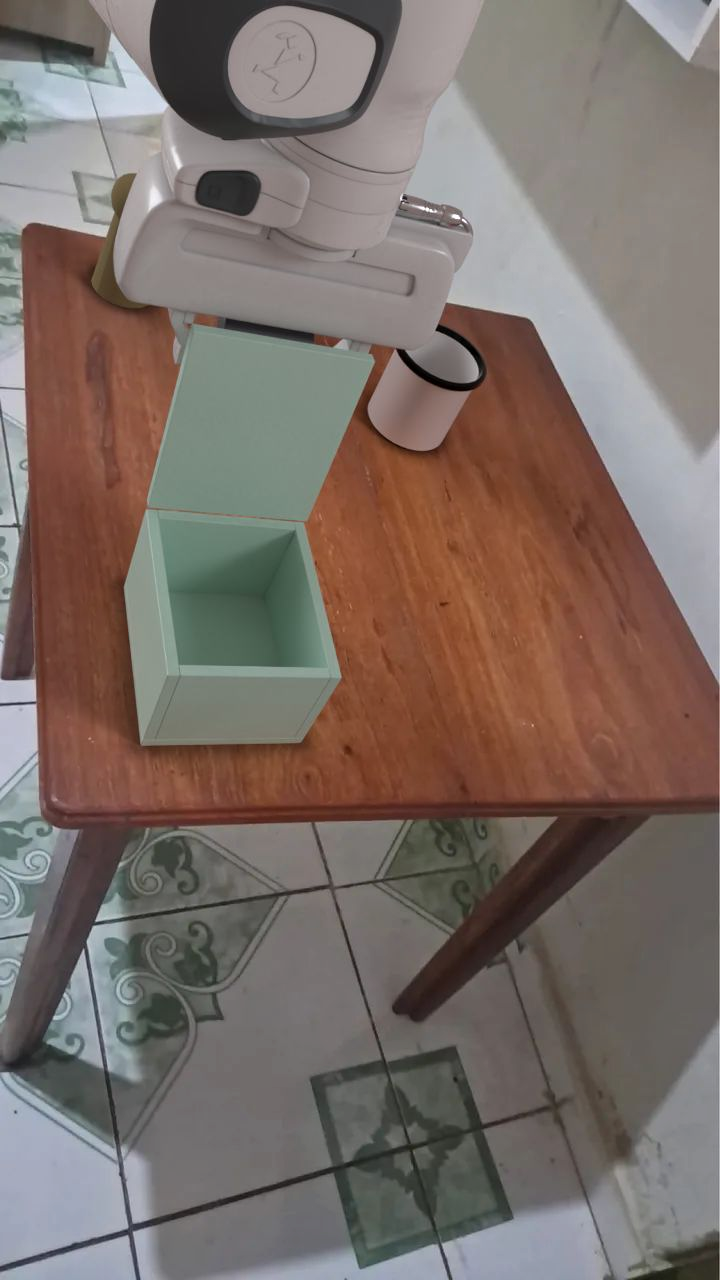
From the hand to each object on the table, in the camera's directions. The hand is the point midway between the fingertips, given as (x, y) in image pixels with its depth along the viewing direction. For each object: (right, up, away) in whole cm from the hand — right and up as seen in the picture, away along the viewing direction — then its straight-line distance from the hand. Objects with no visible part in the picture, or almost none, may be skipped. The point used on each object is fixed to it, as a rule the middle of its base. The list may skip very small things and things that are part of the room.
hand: (255, 370), depth 63 cm
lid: (0, -5, -1) cm, 5 cm away
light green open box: (-4, -19, +8) cm, 21 cm away
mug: (+12, +4, +35) cm, 37 cm away
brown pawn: (-16, +16, +30) cm, 38 cm away
